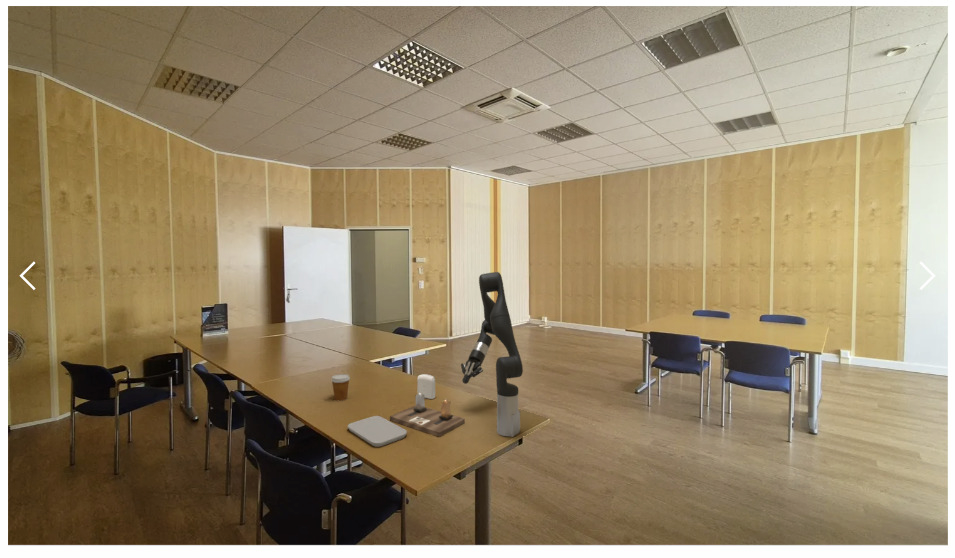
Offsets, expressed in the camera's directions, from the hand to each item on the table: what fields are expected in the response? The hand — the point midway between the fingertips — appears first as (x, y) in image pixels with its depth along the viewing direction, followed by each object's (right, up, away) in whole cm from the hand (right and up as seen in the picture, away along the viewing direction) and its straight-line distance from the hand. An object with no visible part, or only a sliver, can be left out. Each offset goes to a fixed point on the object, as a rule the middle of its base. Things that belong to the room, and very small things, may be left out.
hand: (464, 382), depth 197 cm
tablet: (-37, -17, -21) cm, 46 cm away
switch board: (-17, -15, -10) cm, 25 cm away
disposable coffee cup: (-67, -14, +20) cm, 71 cm away
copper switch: (-8, -13, -11) cm, 19 cm away
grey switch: (-21, -13, -2) cm, 25 cm away
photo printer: (-21, -14, +23) cm, 34 cm away
